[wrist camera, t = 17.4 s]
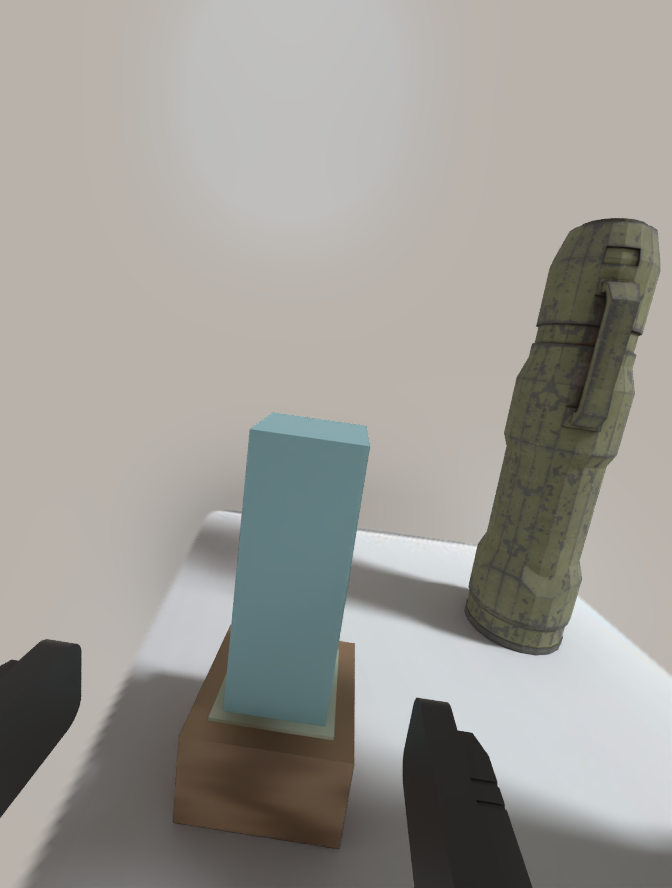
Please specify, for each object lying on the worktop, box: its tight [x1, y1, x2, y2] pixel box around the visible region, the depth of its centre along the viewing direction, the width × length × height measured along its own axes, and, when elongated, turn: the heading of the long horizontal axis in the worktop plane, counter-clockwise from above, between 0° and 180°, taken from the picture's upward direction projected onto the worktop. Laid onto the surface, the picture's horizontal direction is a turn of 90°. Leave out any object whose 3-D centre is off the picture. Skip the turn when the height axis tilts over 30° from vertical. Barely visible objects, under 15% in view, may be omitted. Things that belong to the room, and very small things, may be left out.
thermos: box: [465, 218, 660, 655], centre depth 36 cm, size 9×12×35 cm
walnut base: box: [173, 625, 355, 849], centre depth 23 cm, size 8×8×5 cm
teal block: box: [223, 413, 370, 727], centre depth 21 cm, size 5×5×14 cm
